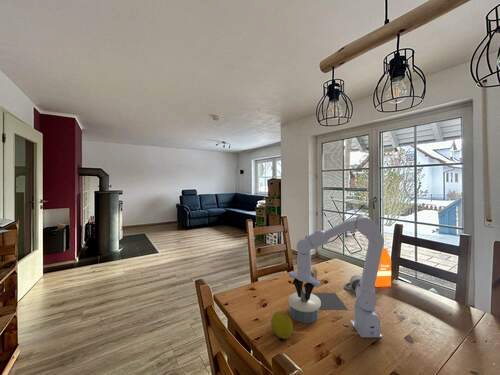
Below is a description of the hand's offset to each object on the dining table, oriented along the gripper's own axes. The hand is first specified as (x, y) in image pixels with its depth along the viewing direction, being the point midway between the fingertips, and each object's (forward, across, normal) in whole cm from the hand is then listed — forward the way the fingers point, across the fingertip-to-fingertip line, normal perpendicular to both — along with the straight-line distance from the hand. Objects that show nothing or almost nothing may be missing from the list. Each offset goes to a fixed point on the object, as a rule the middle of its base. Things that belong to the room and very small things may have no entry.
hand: (303, 298), depth 95 cm
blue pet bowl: (+8, 0, 0) cm, 8 cm away
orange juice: (+8, -13, -57) cm, 59 cm away
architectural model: (+8, +14, -34) cm, 38 cm away
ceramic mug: (+8, -7, -39) cm, 40 cm away
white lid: (+2, 0, 0) cm, 2 cm away
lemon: (+8, -1, +16) cm, 18 cm away
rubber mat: (+8, -1, -17) cm, 19 cm away
